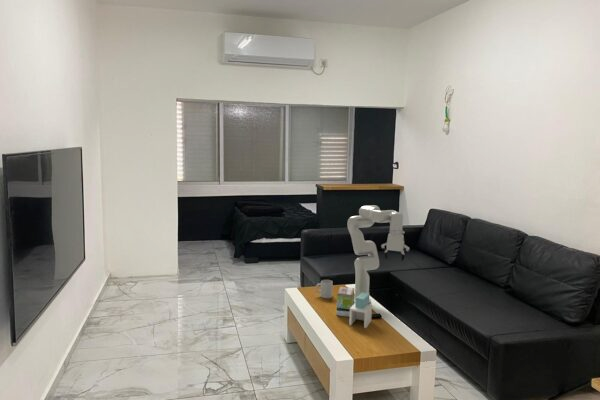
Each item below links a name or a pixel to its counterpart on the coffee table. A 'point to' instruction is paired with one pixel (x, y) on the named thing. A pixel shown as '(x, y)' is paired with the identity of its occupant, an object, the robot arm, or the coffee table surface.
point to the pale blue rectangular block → (362, 300)
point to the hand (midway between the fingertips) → (394, 259)
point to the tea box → (345, 301)
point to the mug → (325, 288)
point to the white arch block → (360, 314)
